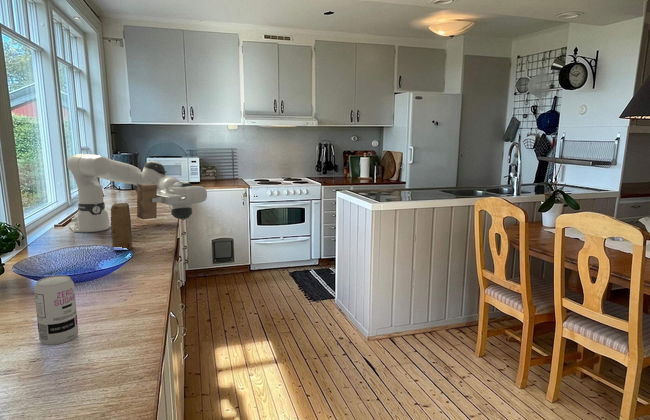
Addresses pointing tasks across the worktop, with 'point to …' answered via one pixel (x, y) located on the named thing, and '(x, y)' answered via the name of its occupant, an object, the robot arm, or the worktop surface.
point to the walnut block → (146, 201)
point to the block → (121, 226)
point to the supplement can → (56, 310)
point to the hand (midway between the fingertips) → (147, 199)
